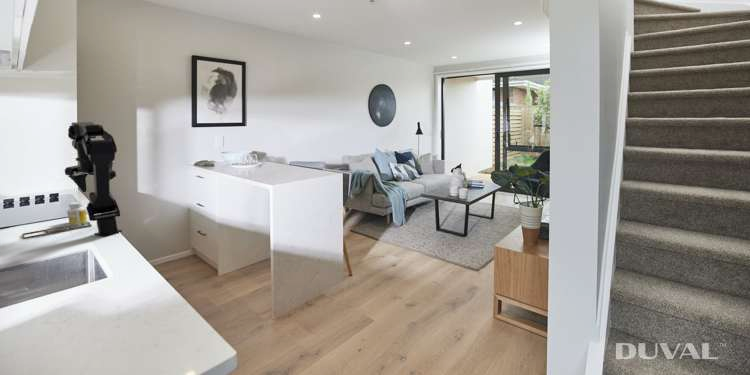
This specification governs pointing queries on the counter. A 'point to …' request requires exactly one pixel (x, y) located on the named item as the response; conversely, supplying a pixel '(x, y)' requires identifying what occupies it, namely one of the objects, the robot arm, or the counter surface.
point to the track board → (55, 230)
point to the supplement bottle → (77, 215)
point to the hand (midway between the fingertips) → (93, 193)
